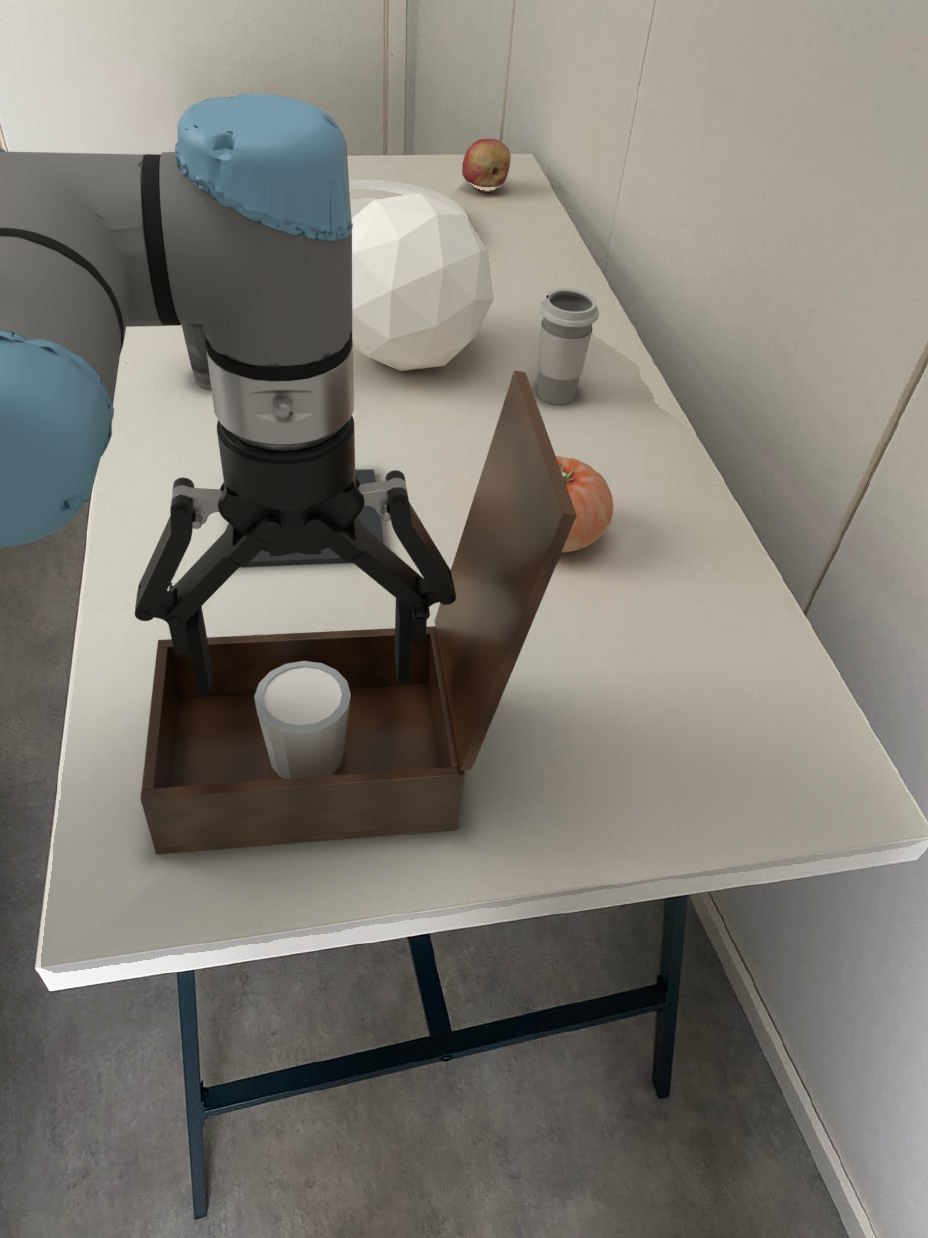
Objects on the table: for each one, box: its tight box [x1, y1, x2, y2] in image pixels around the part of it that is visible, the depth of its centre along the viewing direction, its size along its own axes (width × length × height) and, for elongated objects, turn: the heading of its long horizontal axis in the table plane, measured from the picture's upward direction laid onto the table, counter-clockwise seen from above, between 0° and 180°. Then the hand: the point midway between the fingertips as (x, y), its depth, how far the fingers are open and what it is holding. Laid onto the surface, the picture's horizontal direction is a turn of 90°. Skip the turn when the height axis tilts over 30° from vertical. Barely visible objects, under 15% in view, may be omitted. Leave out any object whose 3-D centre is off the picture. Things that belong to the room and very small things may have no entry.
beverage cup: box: [180, 323, 212, 391], centre depth 105 cm, size 7×7×20 cm
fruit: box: [461, 138, 512, 194], centre depth 157 cm, size 8×8×8 cm
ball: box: [352, 193, 495, 372], centre depth 113 cm, size 19×20×20 cm
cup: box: [536, 287, 600, 406], centre depth 112 cm, size 7×7×12 cm
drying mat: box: [245, 468, 385, 567], centre depth 96 cm, size 14×14×1 cm
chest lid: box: [434, 370, 577, 772], centre depth 64 cm, size 23×15×1 cm
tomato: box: [555, 455, 614, 553], centre depth 94 cm, size 11×11×8 cm
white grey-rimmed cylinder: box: [254, 661, 351, 779], centre depth 72 cm, size 7×7×7 cm
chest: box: [140, 625, 466, 855], centre depth 72 cm, size 22×15×7 cm
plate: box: [349, 178, 470, 222], centre depth 144 cm, size 28×28×2 cm
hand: (305, 674), depth 68 cm, fingers open, 13 cm apart
